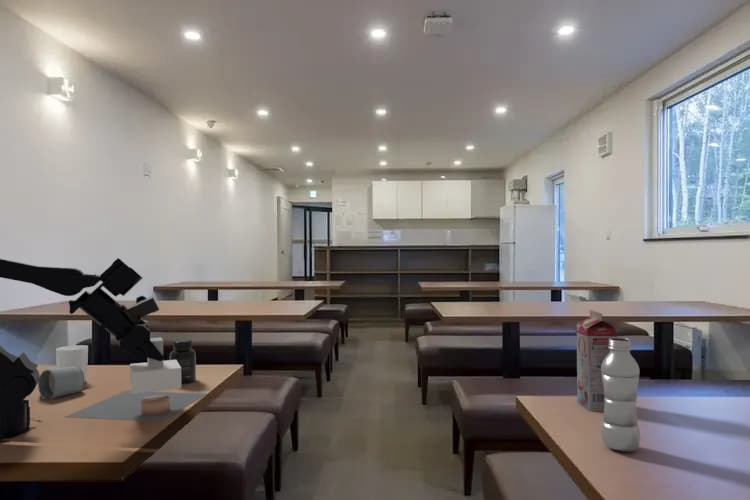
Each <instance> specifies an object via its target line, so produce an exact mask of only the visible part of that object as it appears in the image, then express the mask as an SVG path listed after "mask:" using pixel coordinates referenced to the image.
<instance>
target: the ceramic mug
mask: <svg viewBox="0 0 750 500" xmlns="http://www.w3.org/2000/svg"><path fill="white" fill-rule="evenodd" d="M84 385H85V382H84V374H83V372H82V370H81V369H80V368H78V367H71V366H70V367H63V368H57V367H56V368H46V369H44V370H43V371H41V373H40V377H39V382H38V384H37V387H38V392H39V395H40V397H41V398H42V399H44V400H48V399H49V400H53V399H57V398H61V397H64V396H68V395H72V394H76V393H79V392H80V391H82V389H83V387H84Z"/></svg>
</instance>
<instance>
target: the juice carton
mask: <svg viewBox="0 0 750 500" xmlns="http://www.w3.org/2000/svg"><path fill="white" fill-rule="evenodd" d="M609 338H618V328H617V327H616V326H614V325H612V324H610V323H609V322H606V321H605V320H604V319H603V313H601V312H597V311H594V310H591V309H590V310H589V317H587V318H585V319H583V320H582V321H579V322H578V323H577V324H576V373H577V374H576V376H577V377H576V378H577V379H576V384H577V385H576V386H577V388H576V389H577V391H576V392H577V398H576V399H577V401H576V402H577V403H578V404H579V405H580V406H582V407H583V408H584V409H586V410H587V411H589V412H602V411H603V412H604V405H605V400H604V397H605V396H604V386H603V379H602V372H601V365H602V362H603V360H604V359H605V357H606V356H607V355H608V354H609V352H610V349H608V346H609Z"/></svg>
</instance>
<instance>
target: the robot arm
mask: <svg viewBox="0 0 750 500" xmlns="http://www.w3.org/2000/svg"><path fill="white" fill-rule="evenodd" d="M0 278H2V279H7V280H11V281H16V282H17V281H18V282H23V283H28V284H32V285H35V286H37V287H40V288H42V289H45V290H48V291H50V292H53V293H56V294H59V295H61V296H65V297H73V296H76V295H78V294H80V293H81V292H82V290H84V289H86V288H87V289H88V288H92V287H95V286H96V285H97V284H98V283H99V282H102V283H100V284H99V285H98V286H97V287H96V288H95V289H94V290H93V291H91V292H89V291H87V290H85V291H84V292H83V293H82V294H81V295H80V296H78V297H77V298H76V299H75V300H69V301H68V306H69V312H68V313H69V314H70V315H73V314H74V313H75V312H77V311H78V310H79V309H80V310H82V312H84V313H85V314H86V315H87V316H89V318H91V319H92V320H93V321H95V322H96V323H97V324H98V325H99V326H100V328H102V330H106V331H107V332H108V333H109V334H110V335H112V336H113V337H114V338H115V340H117V342H119V343H118V345H119V346H118V347H119V350H121V351H122V352H123V353H124V354H126V355H127V354H133V355H135V356H141V357H144V358H146V359H147V358H151V359H154V360H157V361H162V360H163V361H164V359H165V357H164V354H163V355H162V354H161V353H160V351H159V350H158V349H157V348H156V346H155V345H154V344H153V343H152V342H151V340H150V338H151V330H150V328H149V326H148V324H146V321H145V320H144V319H143V317H146V316H148V315H150V314H153V313H154V314H155V313H156V312H158V311H160V308H159V306H158V304H157V302H156V300H155V298H154V296H151V295H150V296H148V297H145V296H144V295H143V294H142V295H139V296H138V297H136V299H135V303H134V304H132V305H129V306H128V307H127V306H126V305H124V304H120V303H119V302H118V301H116V300H115V299H114V297H118V296H120V295H121V296H123V297H124V296H126V295H127V293H129V292H130V291H131V290H132V289H133V288H134V287H135V286H137V284H139V282H140V281H142V280H143V277H142V276H141V275H140V274H139V273H138V272H137V271H135V270H134V268H132V267H131V266H128V265H127V264H126V263H125V262H124V261H122V259H120V258H118V257H117V258H116V259H115V260H114V261H113V262H112V263H111V265H110V266H108V268H106V269H105V271H103V272H102V273H101V274H100V275H97V274H96V273H95V274H88V273H84V272H83V271H82V270H81V269H79V268H76V267H63V266H40V265H34V264H30V263H24V262H19V261H15V260H11V259H6V258H1V257H0ZM102 288H104V289H106V290H107V291H108V292H109V293H110V294H111V295H113V296H114V297H112V296H111V295H110V294H108V293H107V292H106V291H105V290H103V289H102ZM145 324H146V325H145ZM37 368H38V364H37V363H35V362H33V361H32V360H30V359H29V357H28V356H27V354H26V353H25V352H22V353H21V354H20V355H18V356H17V355H14V354H12V353H10V352H9V351H7V350H6V349H4V347H3V346H1V345H0V441H4V442H5V441H8V440H10V439H13V438H16V437H18V436H21V435H22V434H24V433H27V432H30V431H32V430H34V429H36V426H31V407H30V403H29V402H30V401H29V399H26V398H27V397H29V396H30V395H32V393H33V392H34V390H35V389H36V387H37V386H38V382H39V377H40V375H41V373H40V372H39V370H38V369H37Z"/></svg>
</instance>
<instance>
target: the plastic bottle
mask: <svg viewBox="0 0 750 500" xmlns="http://www.w3.org/2000/svg"><path fill="white" fill-rule="evenodd" d="M631 342H632V341H631V339H630V338H624V337H617V338H609V346H608V349H610V352H609V354H608V355H607V356H606V357H605V359H604V360H603V362H602V365H601V372H602V379H603V386H604V396H605V397H604V400H605V405H604V411H603V418H602V423H601V429H600V434H601V440H602V442H603V443H604V444H605V446H606V447H608V448H609V449H612V450H614V451H615V450H616V451H620V452H633V451H636V450H637V449H638V448H639V446H640V443H641V431H640V427H639V424H638V423H639V422H638V413H637V412H638V411H637V398H638V386H639V379H640V370H641V369H640V367H639V364H638V362H637V361H636V360H635V358H634V357H633V356H632V354H631V351H632V346H631V345H632V344H631Z"/></svg>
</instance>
